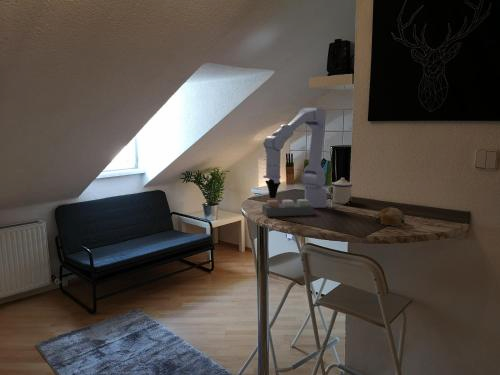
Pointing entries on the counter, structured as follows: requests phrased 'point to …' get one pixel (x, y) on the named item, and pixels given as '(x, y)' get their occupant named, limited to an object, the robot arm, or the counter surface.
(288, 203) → the cream cube
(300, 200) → the sage key
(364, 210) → the counter surface
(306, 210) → the keypad
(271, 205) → the brown cube
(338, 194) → the teacup with lid
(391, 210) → the bread roll
